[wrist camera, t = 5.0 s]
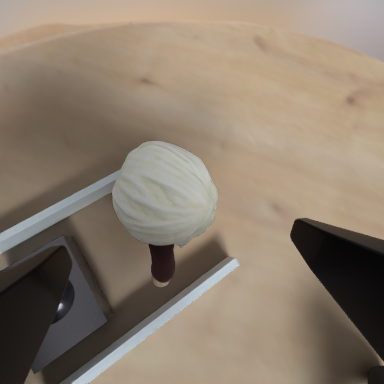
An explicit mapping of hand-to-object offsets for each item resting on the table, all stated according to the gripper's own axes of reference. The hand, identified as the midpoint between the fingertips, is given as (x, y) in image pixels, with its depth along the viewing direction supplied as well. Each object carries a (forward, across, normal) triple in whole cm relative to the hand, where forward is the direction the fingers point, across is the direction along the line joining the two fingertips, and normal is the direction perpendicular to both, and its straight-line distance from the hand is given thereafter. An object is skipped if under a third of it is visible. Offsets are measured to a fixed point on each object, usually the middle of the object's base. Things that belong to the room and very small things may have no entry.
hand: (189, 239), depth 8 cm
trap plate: (+5, -9, -9) cm, 14 cm away
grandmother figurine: (+8, -1, -6) cm, 10 cm away
